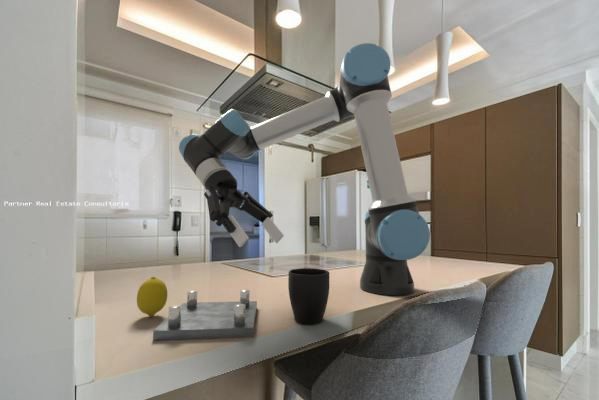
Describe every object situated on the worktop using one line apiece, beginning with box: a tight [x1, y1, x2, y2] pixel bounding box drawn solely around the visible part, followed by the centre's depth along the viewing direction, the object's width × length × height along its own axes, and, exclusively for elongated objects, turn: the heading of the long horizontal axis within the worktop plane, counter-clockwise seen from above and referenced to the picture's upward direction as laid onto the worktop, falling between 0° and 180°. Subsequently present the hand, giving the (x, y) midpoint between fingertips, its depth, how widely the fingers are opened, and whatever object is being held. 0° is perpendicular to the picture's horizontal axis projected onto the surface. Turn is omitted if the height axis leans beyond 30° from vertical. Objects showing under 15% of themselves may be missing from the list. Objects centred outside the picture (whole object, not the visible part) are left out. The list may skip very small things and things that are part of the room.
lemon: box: [136, 276, 168, 318], centre depth 57 cm, size 6×6×8 cm
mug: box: [287, 267, 330, 326], centre depth 57 cm, size 8×12×10 cm
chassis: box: [152, 288, 258, 341], centre depth 54 cm, size 16×16×4 cm
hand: (263, 240), depth 63 cm, fingers open, 13 cm apart
